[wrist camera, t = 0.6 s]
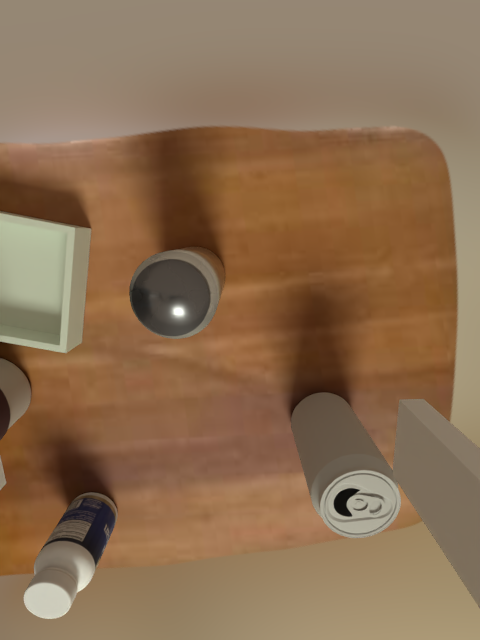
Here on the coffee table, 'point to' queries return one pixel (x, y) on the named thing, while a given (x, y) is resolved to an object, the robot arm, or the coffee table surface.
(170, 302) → the shaker
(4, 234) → the tray
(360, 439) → the beverage can
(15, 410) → the coffee cup
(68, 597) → the pill bottle
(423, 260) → the coffee table surface
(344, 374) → the coffee table surface
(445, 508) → the robot arm
